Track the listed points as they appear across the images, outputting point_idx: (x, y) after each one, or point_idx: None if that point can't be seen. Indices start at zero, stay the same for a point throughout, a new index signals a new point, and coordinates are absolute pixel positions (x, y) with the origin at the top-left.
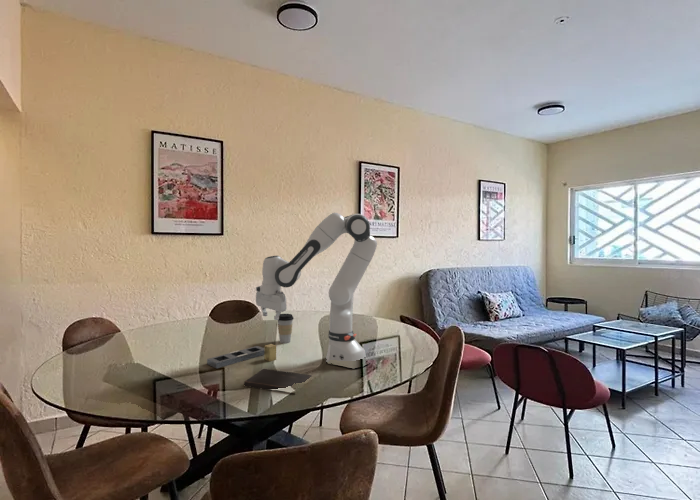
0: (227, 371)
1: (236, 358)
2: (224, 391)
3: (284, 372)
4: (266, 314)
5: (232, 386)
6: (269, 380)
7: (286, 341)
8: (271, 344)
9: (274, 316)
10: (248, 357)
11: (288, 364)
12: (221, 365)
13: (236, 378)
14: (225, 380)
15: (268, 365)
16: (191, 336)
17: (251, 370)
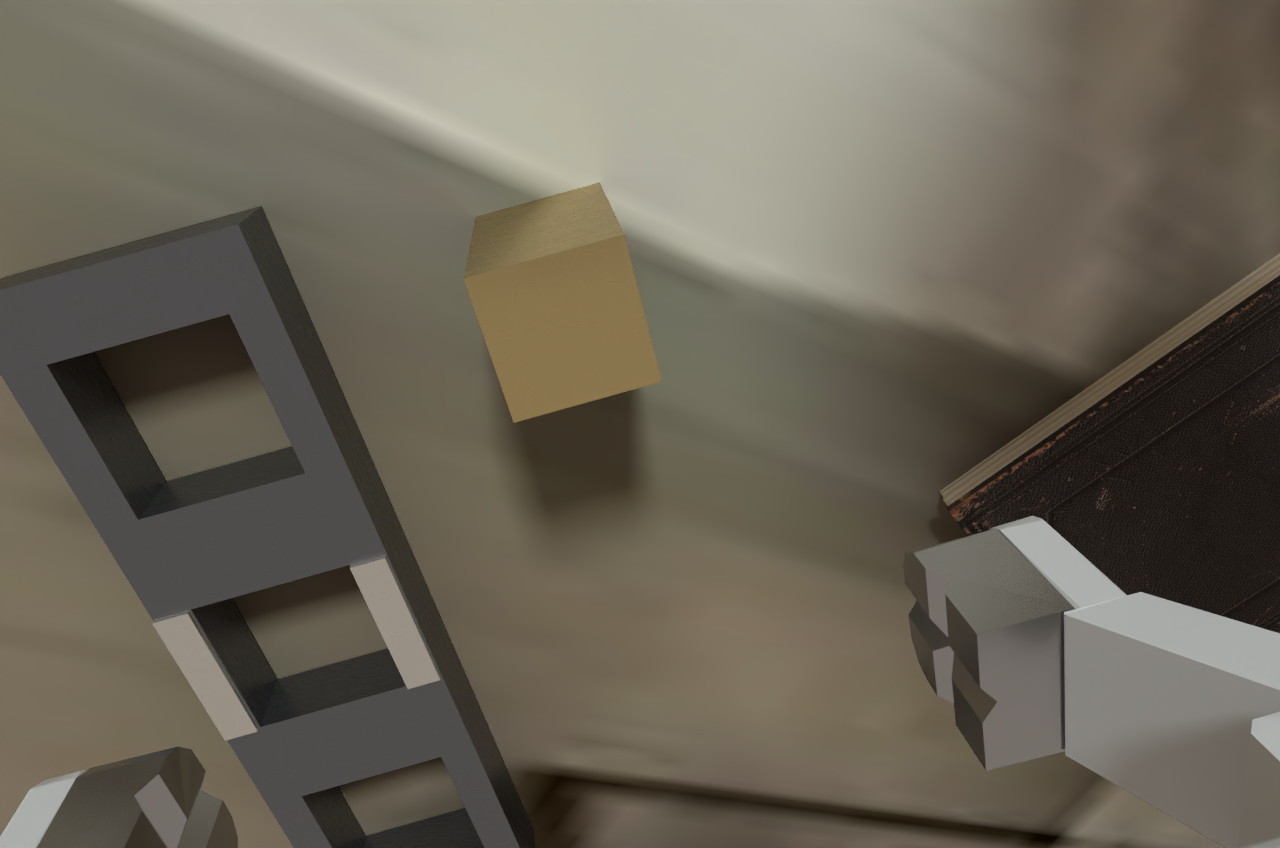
0: (672, 763)
1: (452, 685)
2: (1077, 840)
3: (1224, 352)
4: (167, 816)
5: (1034, 784)
6: (1273, 561)
7: None
8: (506, 286)
9: (991, 749)
10: (389, 520)
11: (886, 107)
12: (515, 803)
13: (896, 731)
14: (877, 807)
15: (755, 363)
16: None
17: (789, 574)
